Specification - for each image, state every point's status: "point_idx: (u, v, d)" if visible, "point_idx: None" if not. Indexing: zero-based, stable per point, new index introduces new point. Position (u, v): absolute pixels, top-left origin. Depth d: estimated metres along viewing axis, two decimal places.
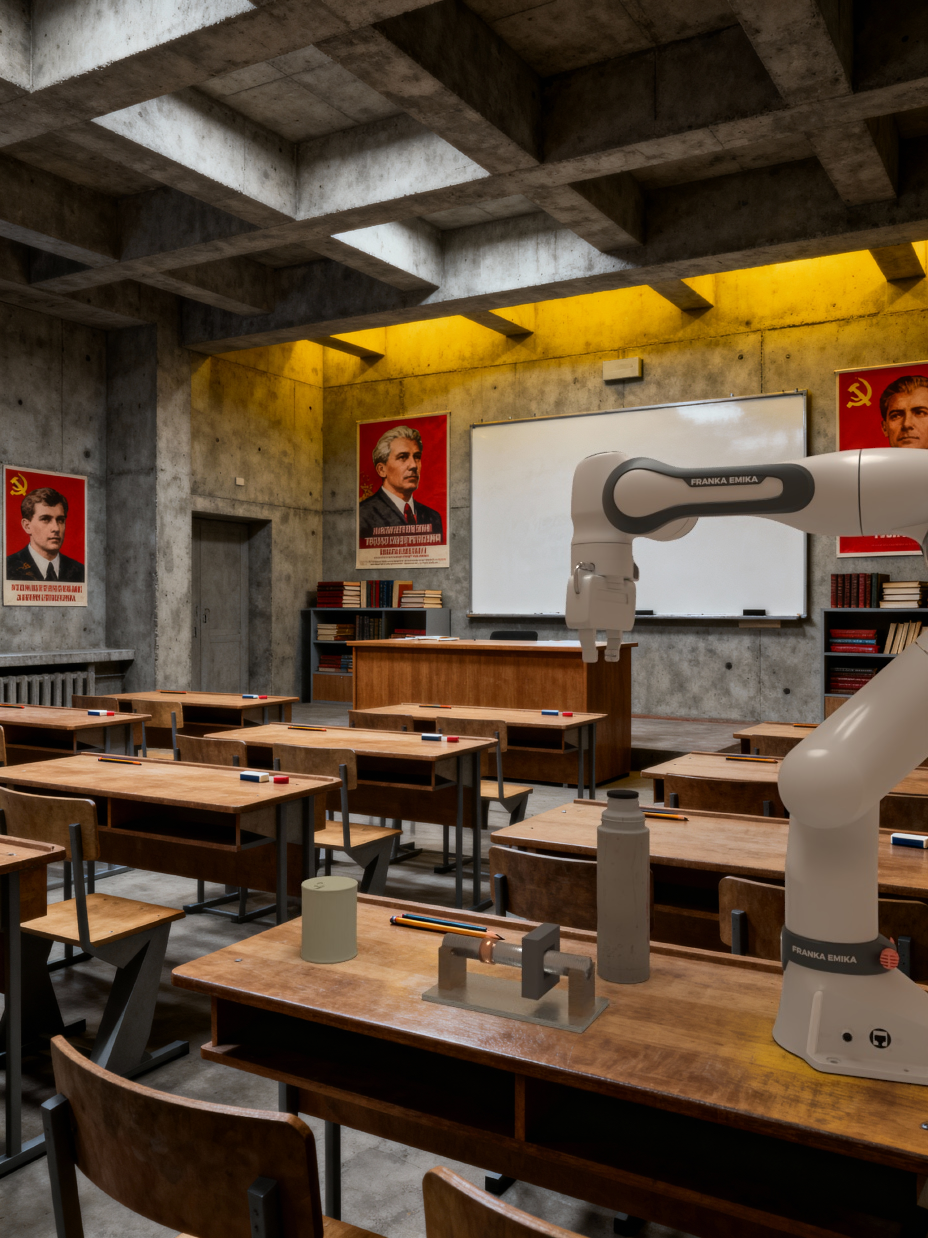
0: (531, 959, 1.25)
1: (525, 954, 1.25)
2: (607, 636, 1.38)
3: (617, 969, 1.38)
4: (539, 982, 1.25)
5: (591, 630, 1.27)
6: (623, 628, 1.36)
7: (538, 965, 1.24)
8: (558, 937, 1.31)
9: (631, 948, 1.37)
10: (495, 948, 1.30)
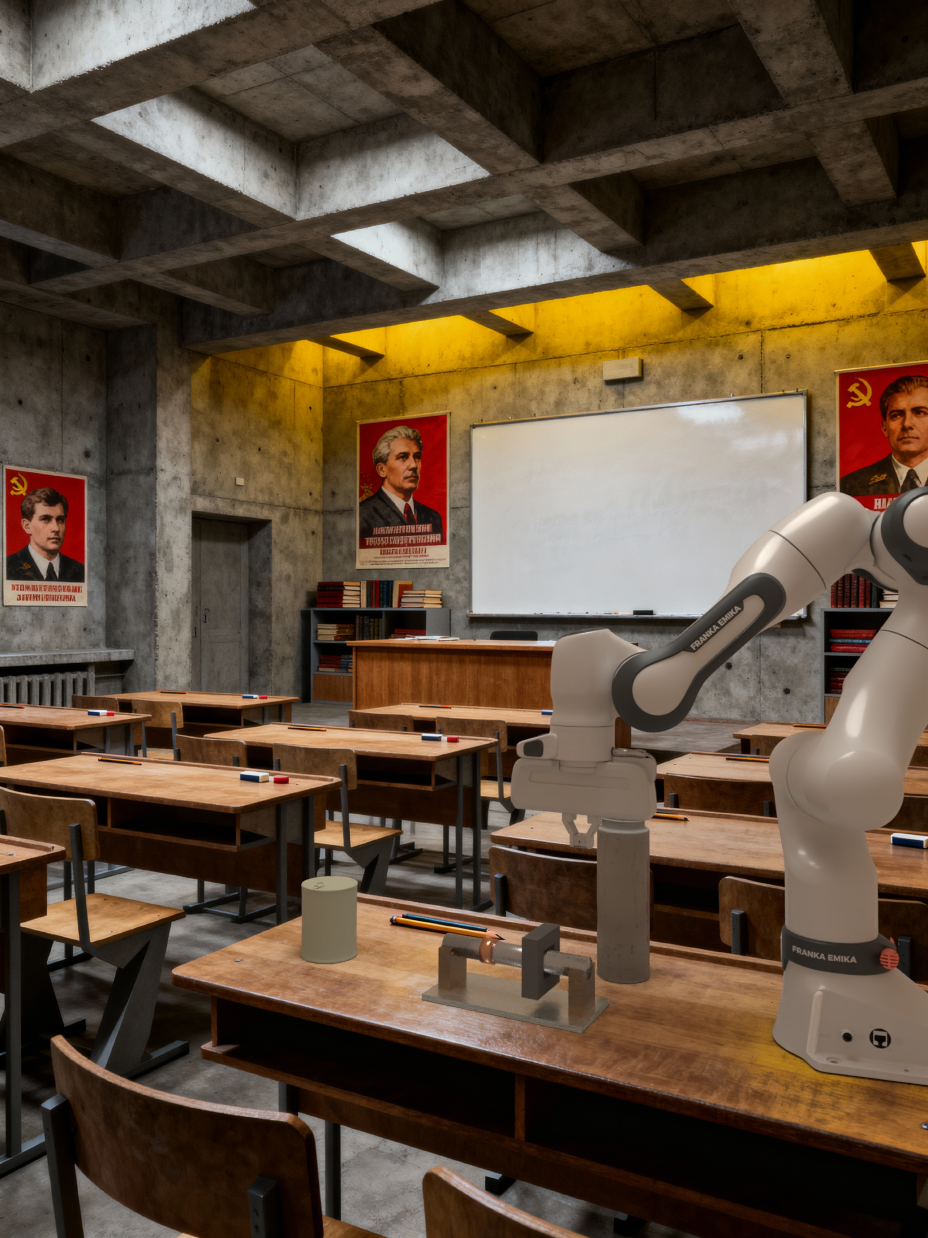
0: (531, 959, 1.25)
1: (525, 954, 1.25)
2: (571, 820, 1.26)
3: (617, 969, 1.38)
4: (539, 982, 1.25)
5: None
6: None
7: (538, 965, 1.24)
8: (558, 937, 1.31)
9: (631, 948, 1.37)
10: (495, 948, 1.30)
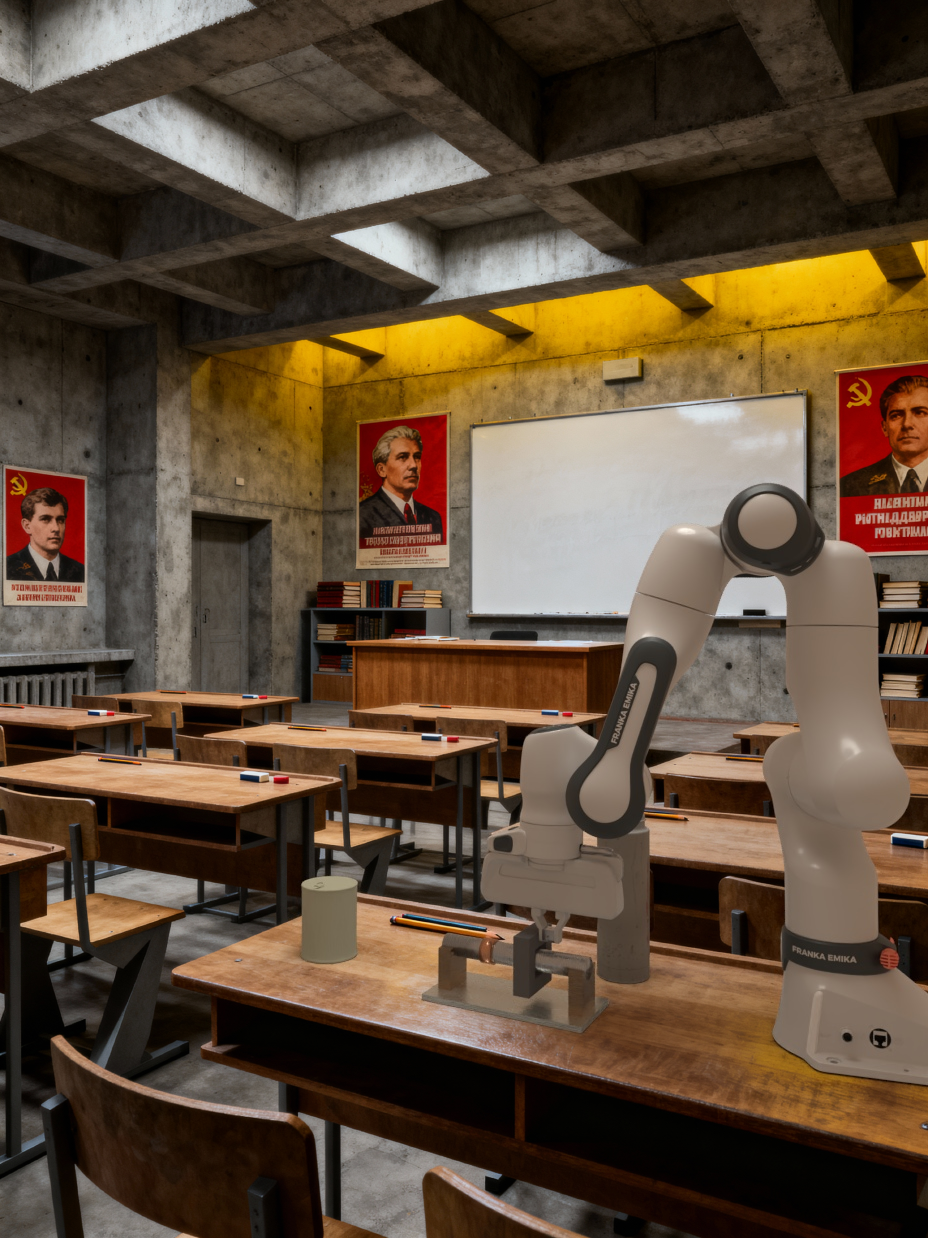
0: (522, 958, 1.25)
1: (516, 953, 1.26)
2: (540, 914, 1.28)
3: (617, 969, 1.38)
4: (530, 980, 1.25)
5: None
6: None
7: (529, 964, 1.25)
8: None
9: (631, 948, 1.37)
10: (495, 948, 1.30)
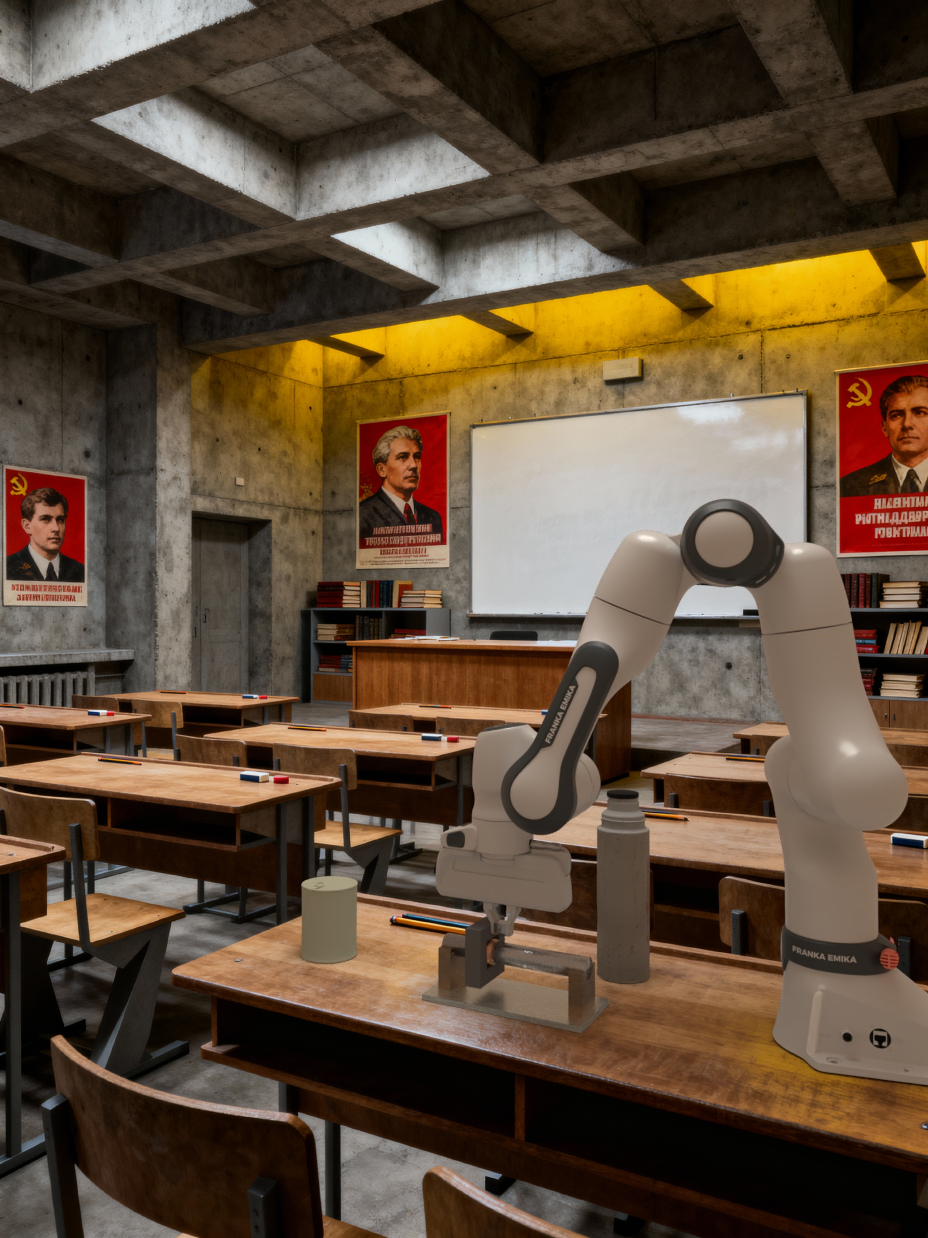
0: (474, 949, 1.29)
1: (468, 944, 1.29)
2: (492, 908, 1.31)
3: (617, 969, 1.38)
4: (482, 971, 1.29)
5: None
6: None
7: (480, 955, 1.28)
8: None
9: (631, 948, 1.37)
10: (495, 948, 1.30)
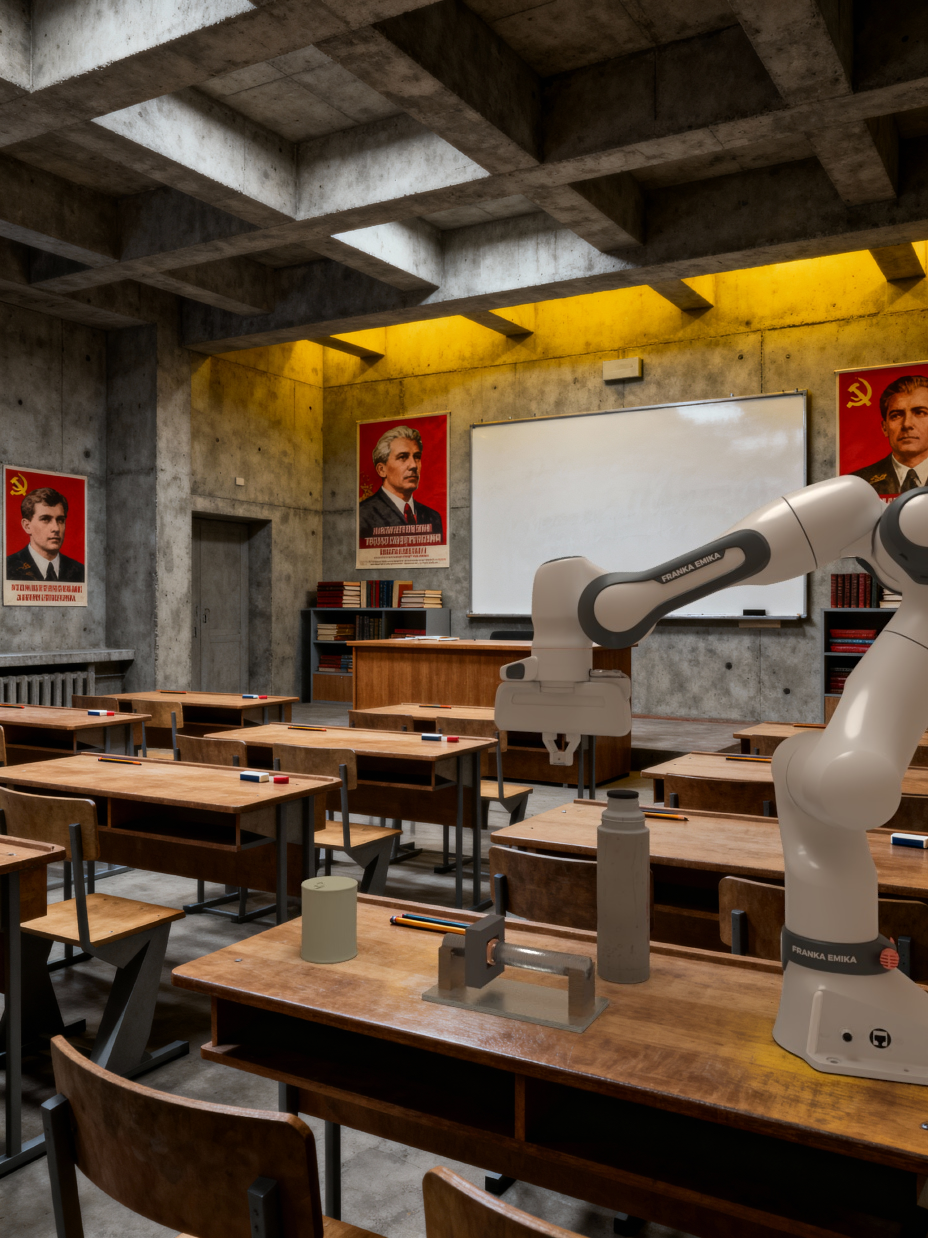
0: (474, 949, 1.29)
1: (468, 944, 1.29)
2: (551, 738, 1.33)
3: (617, 969, 1.38)
4: (482, 971, 1.29)
5: (579, 734, 1.33)
6: None
7: (480, 955, 1.28)
8: (503, 928, 1.35)
9: (631, 948, 1.37)
10: (495, 948, 1.30)
